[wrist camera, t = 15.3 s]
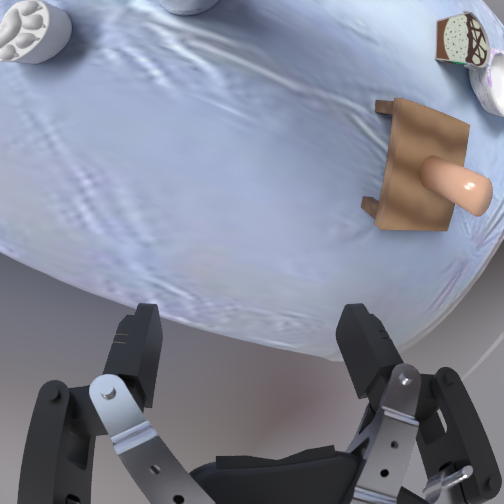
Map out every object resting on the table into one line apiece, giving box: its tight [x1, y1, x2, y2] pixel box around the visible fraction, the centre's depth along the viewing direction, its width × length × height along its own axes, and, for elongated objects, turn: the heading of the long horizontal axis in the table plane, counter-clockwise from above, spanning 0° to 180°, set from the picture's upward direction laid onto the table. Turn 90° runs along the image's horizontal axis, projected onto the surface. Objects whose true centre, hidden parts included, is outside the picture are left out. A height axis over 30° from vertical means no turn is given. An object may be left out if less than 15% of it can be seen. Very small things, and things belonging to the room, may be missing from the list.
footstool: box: [361, 98, 470, 231], centre depth 38 cm, size 20×16×8 cm
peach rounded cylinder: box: [420, 155, 493, 217], centre depth 30 cm, size 5×5×11 cm
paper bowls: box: [469, 48, 504, 117], centre depth 30 cm, size 15×15×8 cm
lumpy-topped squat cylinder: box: [0, 0, 72, 64], centre depth 19 cm, size 10×13×9 cm
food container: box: [435, 11, 490, 70], centre depth 26 cm, size 12×6×10 cm, turn 173°
